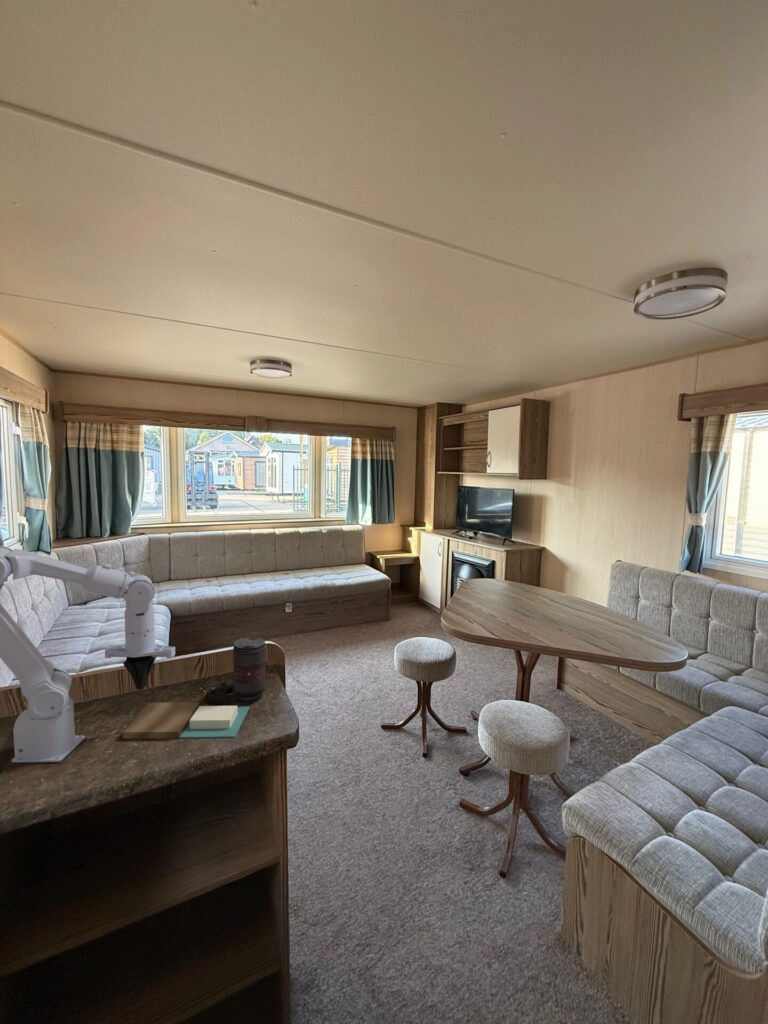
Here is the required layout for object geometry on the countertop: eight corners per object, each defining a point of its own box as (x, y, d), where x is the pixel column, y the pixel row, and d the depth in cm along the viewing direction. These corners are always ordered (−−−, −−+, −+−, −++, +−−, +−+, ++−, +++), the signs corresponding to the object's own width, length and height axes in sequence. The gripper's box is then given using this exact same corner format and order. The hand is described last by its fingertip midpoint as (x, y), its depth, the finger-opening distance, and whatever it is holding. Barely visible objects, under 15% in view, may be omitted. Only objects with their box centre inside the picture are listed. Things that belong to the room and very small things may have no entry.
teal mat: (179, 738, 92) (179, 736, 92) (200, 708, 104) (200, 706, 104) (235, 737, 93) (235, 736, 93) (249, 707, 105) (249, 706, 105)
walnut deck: (122, 738, 92) (122, 732, 92) (150, 708, 104) (149, 702, 104) (178, 738, 92) (178, 731, 92) (199, 708, 104) (199, 702, 104)
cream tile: (189, 728, 95) (189, 720, 95) (199, 713, 101) (199, 705, 101) (230, 728, 96) (229, 720, 96) (237, 713, 102) (237, 705, 102)
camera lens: (265, 703, 107) (265, 647, 106) (231, 707, 105) (231, 649, 104) (266, 688, 115) (266, 635, 113) (235, 691, 113) (234, 637, 111)
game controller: (230, 705, 105) (212, 688, 104) (215, 719, 105) (198, 702, 105) (243, 685, 114) (227, 670, 114) (229, 698, 115) (213, 683, 114)
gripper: (180, 623, 99) (181, 678, 100) (116, 623, 98) (118, 678, 99) (166, 634, 92) (168, 694, 93) (98, 634, 91) (100, 694, 92)
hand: (141, 687), depth 96 cm, fingers closed
